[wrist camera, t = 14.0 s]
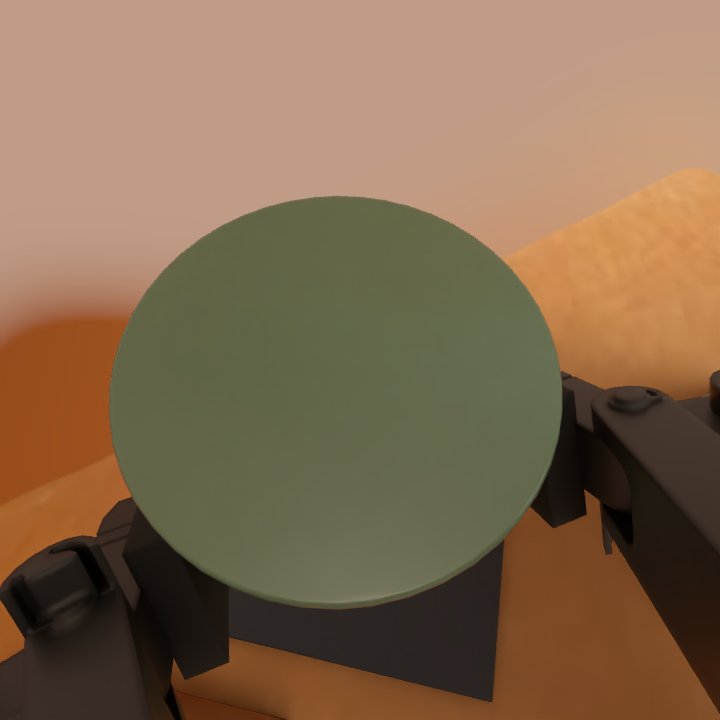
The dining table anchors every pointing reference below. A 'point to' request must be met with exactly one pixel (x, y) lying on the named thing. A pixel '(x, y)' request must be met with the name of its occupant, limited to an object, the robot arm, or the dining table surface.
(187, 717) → the walnut block
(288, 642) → the rubber mat
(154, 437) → the green tin
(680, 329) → the dining table surface
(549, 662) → the dining table surface
